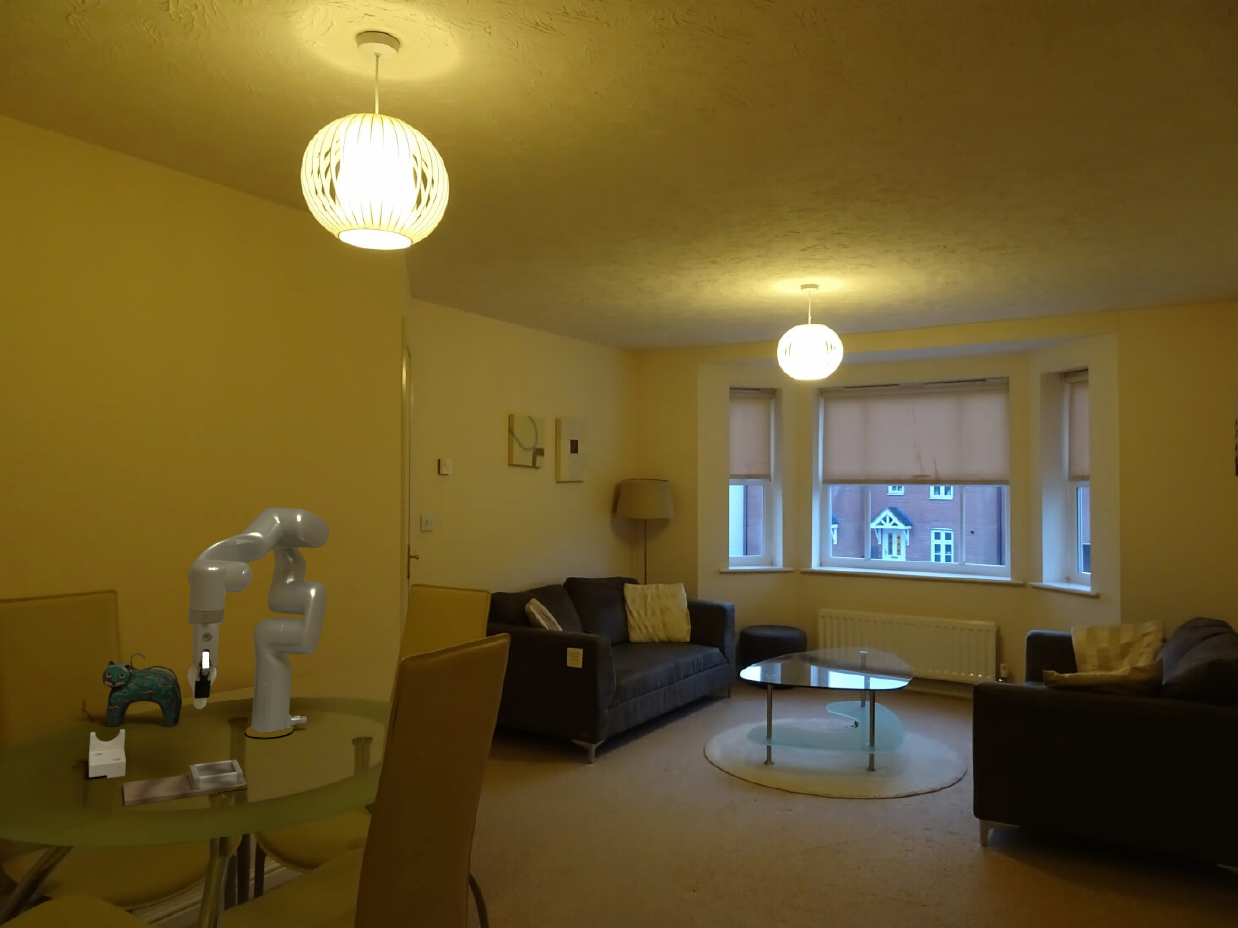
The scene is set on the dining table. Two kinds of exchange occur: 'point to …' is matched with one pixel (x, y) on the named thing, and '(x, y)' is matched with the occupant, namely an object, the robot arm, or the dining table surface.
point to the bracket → (107, 756)
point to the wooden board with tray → (186, 783)
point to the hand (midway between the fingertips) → (200, 693)
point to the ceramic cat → (141, 691)
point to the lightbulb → (192, 678)
